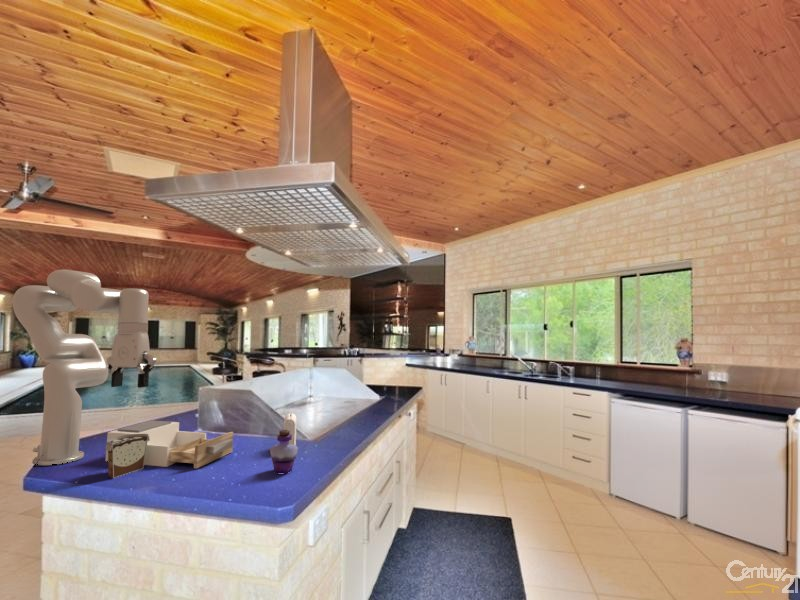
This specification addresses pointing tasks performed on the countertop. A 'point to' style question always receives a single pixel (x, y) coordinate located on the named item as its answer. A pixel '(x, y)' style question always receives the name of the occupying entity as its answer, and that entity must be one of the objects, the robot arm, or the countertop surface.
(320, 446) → the countertop surface
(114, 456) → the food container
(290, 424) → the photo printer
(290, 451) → the potion bottle
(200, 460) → the sliding tray
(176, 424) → the dock
